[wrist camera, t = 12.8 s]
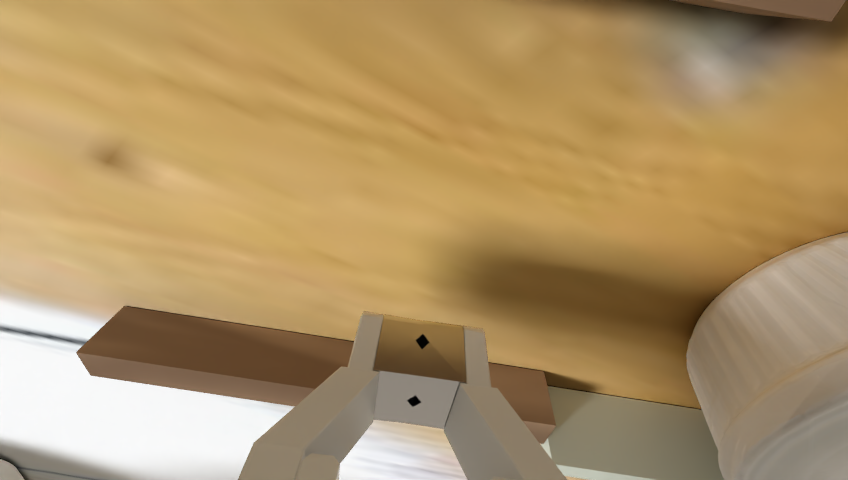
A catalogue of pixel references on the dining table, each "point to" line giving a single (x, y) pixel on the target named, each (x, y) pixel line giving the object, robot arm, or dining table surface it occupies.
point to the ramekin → (778, 367)
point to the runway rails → (306, 354)
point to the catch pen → (629, 439)
